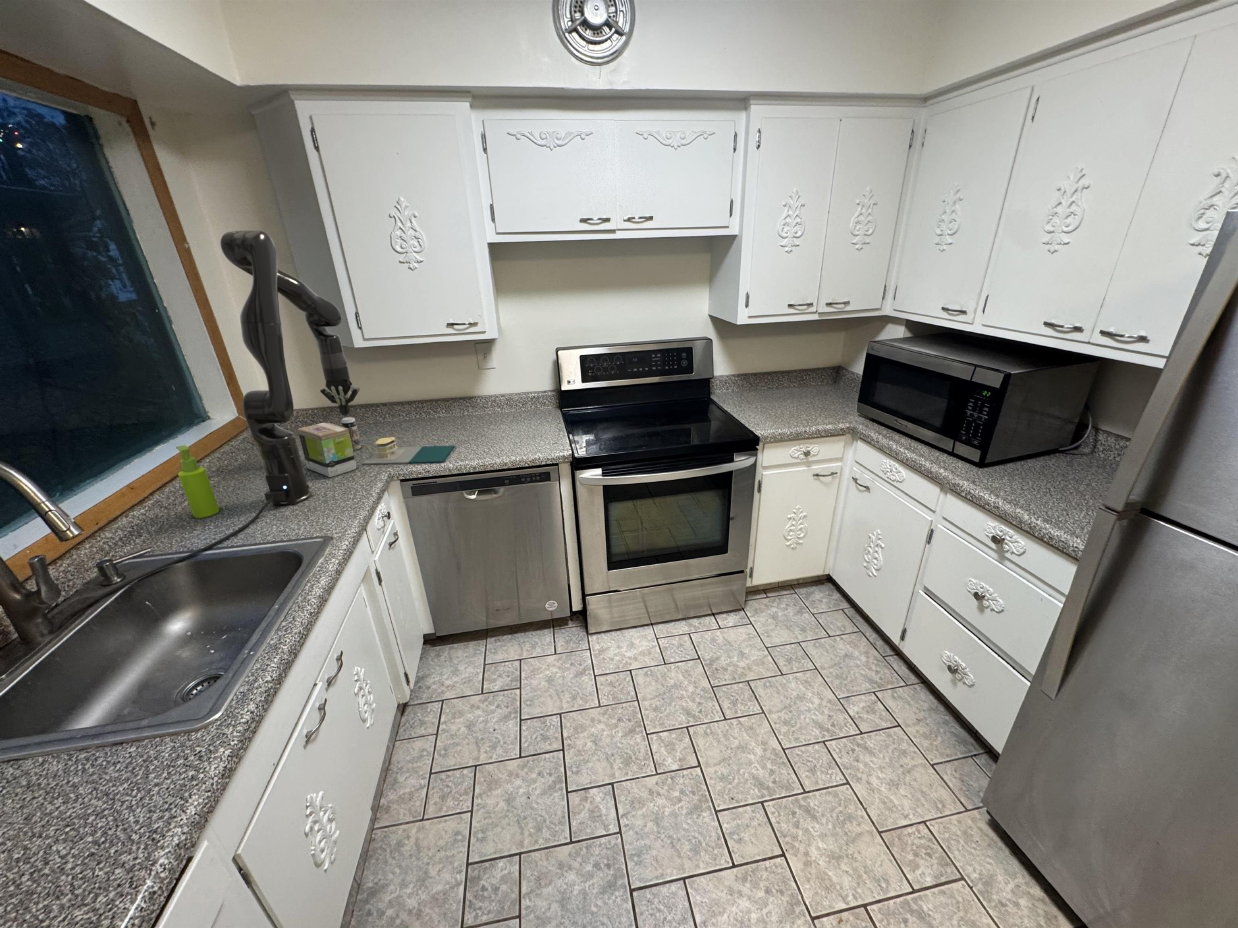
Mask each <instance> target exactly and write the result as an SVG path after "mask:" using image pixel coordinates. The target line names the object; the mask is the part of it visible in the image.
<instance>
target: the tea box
mask: <svg viewBox="0 0 1238 928" xmlns="http://www.w3.org/2000/svg"><path fill="white" fill-rule="evenodd" d="M297 432H298V437H299V441H300V444H301V445H300V446H301V448H302V452H303V457H304V460H305V464H306V468H307V469H309V470H311V471H313V472H315V473H318V474H320V475H323V476H326V477H328V478H332V477H335V476H339V475H343V474H345V473H348V472H351V471H353V470H357V463H356V458H355V454H354V450H353V448H352V443H351V439H350V434H349V430H348V428H344V427H343V426H342V425H341V426H340V425H337V424H333V423H330V422H327V421H324V422H321V423H316V424H313V425H307V426H304V427H300V428H297Z"/></svg>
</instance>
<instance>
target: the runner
mask: <svg viewBox="0 0 1238 928" xmlns="http://www.w3.org/2000/svg"><path fill="white" fill-rule="evenodd" d="M397 447H398V448H396V449H395V450H404V451H403V452H402V453H401V454H400V455H399V456H398V457H397V458H396V459H381V460H370V459H371V458H372V457H374V456H375V455H376V454H377V451H378V450H377V449H376V450H375V451H374V452H373V453H372V454H370V456H369V457H367V458H366V459H365V460H364V461H363V462H362V463H361V464H362V465H363V466H367V465H368V466H370V465H399V464H400V465H404V464H406V465H407V464H408V465H409V464H442V463H445V461H446V459H447V458H448V457H449V455H450V454H451V453H452V451H453V450H454V448H455V445H427V446H426V445H424V446H423V445H422V446H421V445H420V446H397Z"/></svg>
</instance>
